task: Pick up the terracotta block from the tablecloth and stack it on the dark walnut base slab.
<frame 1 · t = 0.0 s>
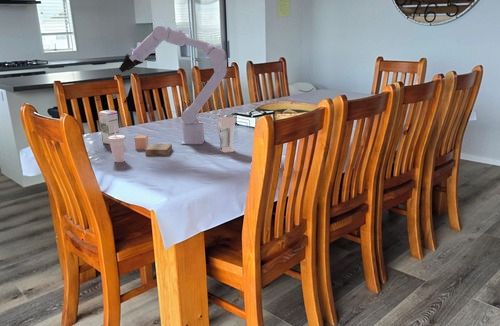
hand: (123, 69, 184), 32 cm above the table, tool tilted 50°, fingers open, 7 cm apart
terracotta block: (142, 148, 186), on the table
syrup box: (111, 143, 194), on the table
beer glass: (226, 151, 180), on the table
smoothie: (119, 161, 168), on the table
walnut base: (159, 152, 179), on the table
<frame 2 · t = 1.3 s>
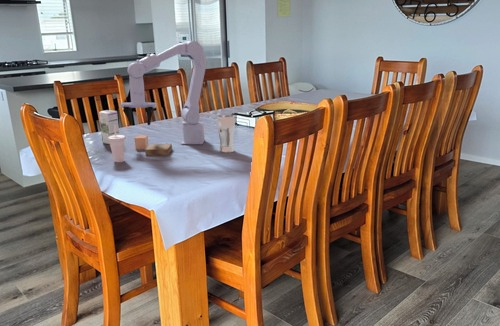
hand: (140, 124, 182), 10 cm above the table, tool pointing down, fingers open, 7 cm apart
nothing on the table moved.
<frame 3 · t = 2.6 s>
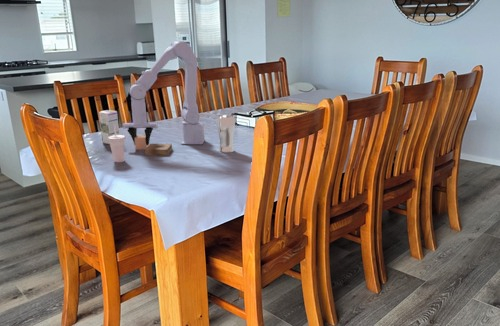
hand: (141, 144, 185), 1 cm above the table, tool pointing down, fingers closed on terracotta block, 4 cm apart
terracotta block: (142, 147, 186), on the table, touching gripper
everything else where it was.
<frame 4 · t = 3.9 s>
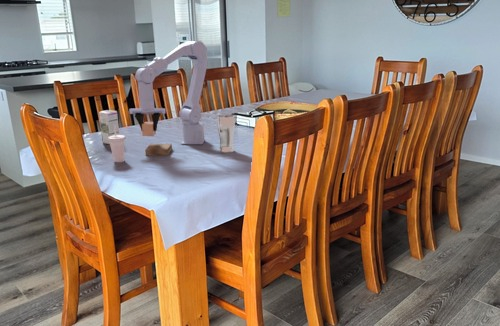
hand: (149, 130, 180), 8 cm above the table, tool pointing down, fingers closed on terracotta block, 4 cm apart
terracotta block: (149, 134, 180), point 7 cm above the table, touching gripper
everything else where it was.
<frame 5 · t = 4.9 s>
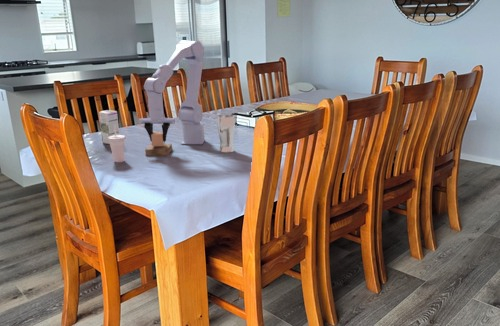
hand: (158, 140, 177), 5 cm above the table, tool pointing down, fingers closed on terracotta block, 5 cm apart
terracotta block: (158, 144, 178), point 3 cm above the table, touching gripper
everything else where it was.
when the fingers open (5 cm above the table, at t = 5.3 s): terracotta block stays where it is, resting on walnut base.
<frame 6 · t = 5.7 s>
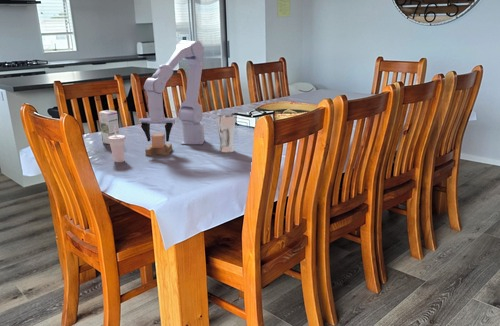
hand: (158, 140, 177), 5 cm above the table, tool pointing down, fingers open, 7 cm apart
terracotta block: (158, 146, 178), point 2 cm above the table, touching walnut base
everything else where it was.
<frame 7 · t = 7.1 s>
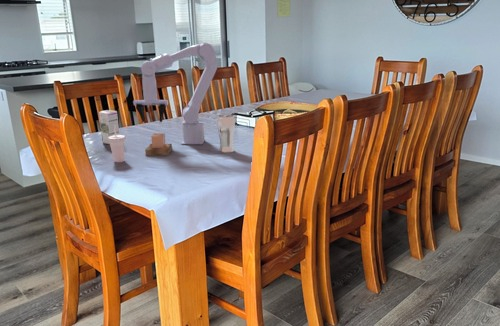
hand: (152, 121, 187), 10 cm above the table, tool pointing down, fingers open, 7 cm apart
nothing on the table moved.
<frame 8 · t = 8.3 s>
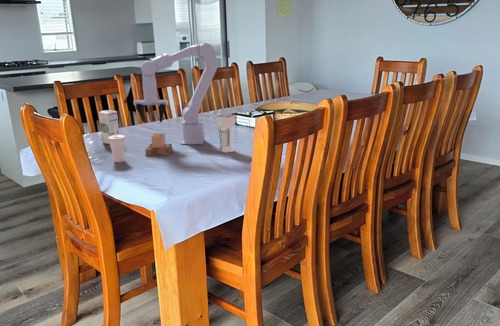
hand: (152, 121, 187), 10 cm above the table, tool pointing down, fingers open, 7 cm apart
nothing on the table moved.
at the end: terracotta block inside the target area on the walnut base (0.1 cm from its centre), point 2.5 cm above the walnut base's base; terracotta block tilted 0°; the gripper is holding nothing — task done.
